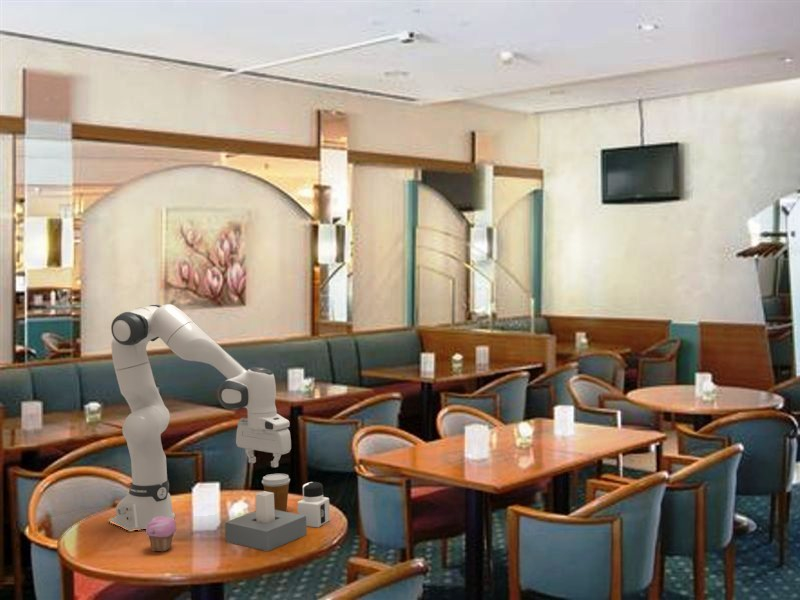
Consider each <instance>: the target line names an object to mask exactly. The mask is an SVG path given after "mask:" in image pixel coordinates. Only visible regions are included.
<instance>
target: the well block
mask: <svg viewBox="0 0 800 600" xmlns="http://www.w3.org/2000/svg"><path fill="white" fill-rule="evenodd" d="M224 525H225V527H224V528H225V529H224V531H225V542H227V543H230V544H235V545H238V546H239V545H240V546H244V547H248V548H252V549H255V550H260V551H263V552H269V551H271V550H275V549H277V548H279V547H281V546H283V545H286V544H288V543H290V542H293V541H296V540H297V539H300V538H303V537H305V536H307V526H306V516H304V515H299V514H298V513H295V512H288V511H286V512H284V511H280V510H275V520H274V521H271V522H269V523H261V522H257V521H256V510H254V511H251V512H249V513H246V514H243V515H241V516H238V517H235V518H233V519H230V520H228V521H225V522H224Z"/></svg>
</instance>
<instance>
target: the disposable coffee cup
mask: <svg viewBox="0 0 800 600" xmlns="http://www.w3.org/2000/svg"><path fill="white" fill-rule="evenodd" d="M290 482H291V478H290V476H289V474H286V473H271V474H266V475H265V476H263V477H262V480H261V484H262V485H263V491H266V492H272V493H274V508H275V510H280V511H284V512H287V511H288V508H287V507H288V497H289V496H288V495H289V488H290V487H289V486H290Z"/></svg>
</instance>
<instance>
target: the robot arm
mask: <svg viewBox="0 0 800 600" xmlns="http://www.w3.org/2000/svg"><path fill="white" fill-rule="evenodd" d="M110 329H111V331H110V332H111V334H112V337H113V339H112V341H111V357H112V363H113V368H114V372H115V375H116V380H117V383H118V387H119V391H120V394H121V395H122V396H123V397H124V399H125V401H126V403H127V404H128V406H129V408H130V411H131V413H129V415H127V416H126V418H125V420H124V421H123V424H122V428H121V429H122V430H121V431H122V432H121V433H122V436H123V437H124V439H125V440H126V444H127V448H128V452H129V453H128V454H129V457H130V462H131V463H130V464H131V465H130V466H131V480H132V481H131V482H129V483H126V485H128V486H127V488H129V490H128V494H126V496H125V497H123V498H122V499H121V500H120V501H119V502H117V504H116V508H115V515H114V516H112V517H110V518H109V519H108V521H109V520H110V521H112V522H114V523H116V524H118V525H120V526H122V527H124V528H126V529H128V530H133V529H146V528H147V526H148V524H149V523H150V522H151V520H152V519H153V518H155V517H161V516H163V517H168V518H171V519H173V520H174V521H175V517H176V513H174V511H173V505H172V498H171V494H170V492H169V491H170V483H169V479H168V473H167V472H168V471H167V468H168V467H167V457H166V454H165V451H164V449H163V444H162V438H161V435H162V433H163V432H165V431H166V430H167V428H168V426H169V424H170V420H171V413H170V411H169V408H167V406H166V405H165V403H164V401H163V399H162V396H161V395H160V392H159V390H158V387H157V386H156V382H155V379H154V374H153V370H152V367H151V366H152V365H151V364H150V363H151V362H150V360H149V356H148V353H147V345H148V344H149V342H154V341H156V340H157V339H160V340H161V341H162V342H163V343H164V344H165V345H166V346H167V347H168V348H169V349H170V350H171V351H172V353H174V355H176V356H178V357H179V358H181V359H182V360H185V361H189V362H198V363H199V362H200V363H204V364H209V366H211V367H214V368H215V369H216V370H218V371H219V372H220V373H221V374H222V375H223V376H224V377H225V378H226V379H225V380H224V381H222V382H221V383H220V385H219V386H218V387H217V399H218V401H219V404H220V405H221V406H222V407H223V408H225V409H227V410H239V409H241V408H242V409H243V408H246V410H247V411H246V412H247V418H246V417H241V418H240V419H238V421H237V428H236V436H235V437H236V438H235V443H236V446H237V448H242V449H245V450H244V451H245V454H246V455H247V457H248V463H249V464H255V463H256V462H257V457H256V456H255V455H254V453H253V452H254V451H258V452H264V453H271V454H272V457H274V458H273V460H271V461H270V467H271V468H278V467H279V461H280V459H281V456H282V455H286V454H288V453H290V452H291V449H292V439H291V432H290V430H289V427H290V426H291V425H290V424H291V423H290V421H289V419H287V418H285V417H283V416H282V415H280V414H278V413H277V411H278V409H277V407H276V399H277V387H276V385H277V384H276V379H275V378H276V377H275V374H274V373H273V371H272V370H271V369H269V368H266V367H263V366H261V367H260V366H253V367H250V368H249V369H248V368H246V366H244V365H243V364H242V363H240V361H238V360H237V359H236V358H235V357H234V356H233V355H232V354H231V353H230V352H229V351H228V350H226V349H225V348H224V347H223V346H221V345H220V344H219V343H217V341H215V340H214V339H212V338H211V337H210V336H209V335H208V334H207V333H206V332H205V331H204V330H202V329H201V328H200V326H198V325H197V324H196V323H195V322H194V321H193V320H192V318H191V317H189V316H188V315H187V314H186V313H185V312H184V311H183V310H181V309H180V308H178V307H177V306H175V305H174V304H170V303H165V304H163V305H159V304H151V305H147V306H140V307H135V309H132V310H129V311H125V312H122V313H120V314H118V315H117V316H116V317H114V318H113V320H112V323H111V328H110ZM113 517H116V518H113Z"/></svg>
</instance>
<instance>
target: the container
mask: <svg viewBox="0 0 800 600" xmlns="http://www.w3.org/2000/svg"><path fill="white" fill-rule="evenodd" d="M296 508H297V514H299V515H304V516H306V527H311V528H320V527H321V526H323V525H325V524H327V523H328V522H330V520H331V517H330V515H331V513H330V512H331V511H330V498H329V497H326V496H324V485H323V484H322V483H321V482H318V481H310V482H307V483H304V484H303V485H302V499H301V500H299V501H297V507H296Z"/></svg>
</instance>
